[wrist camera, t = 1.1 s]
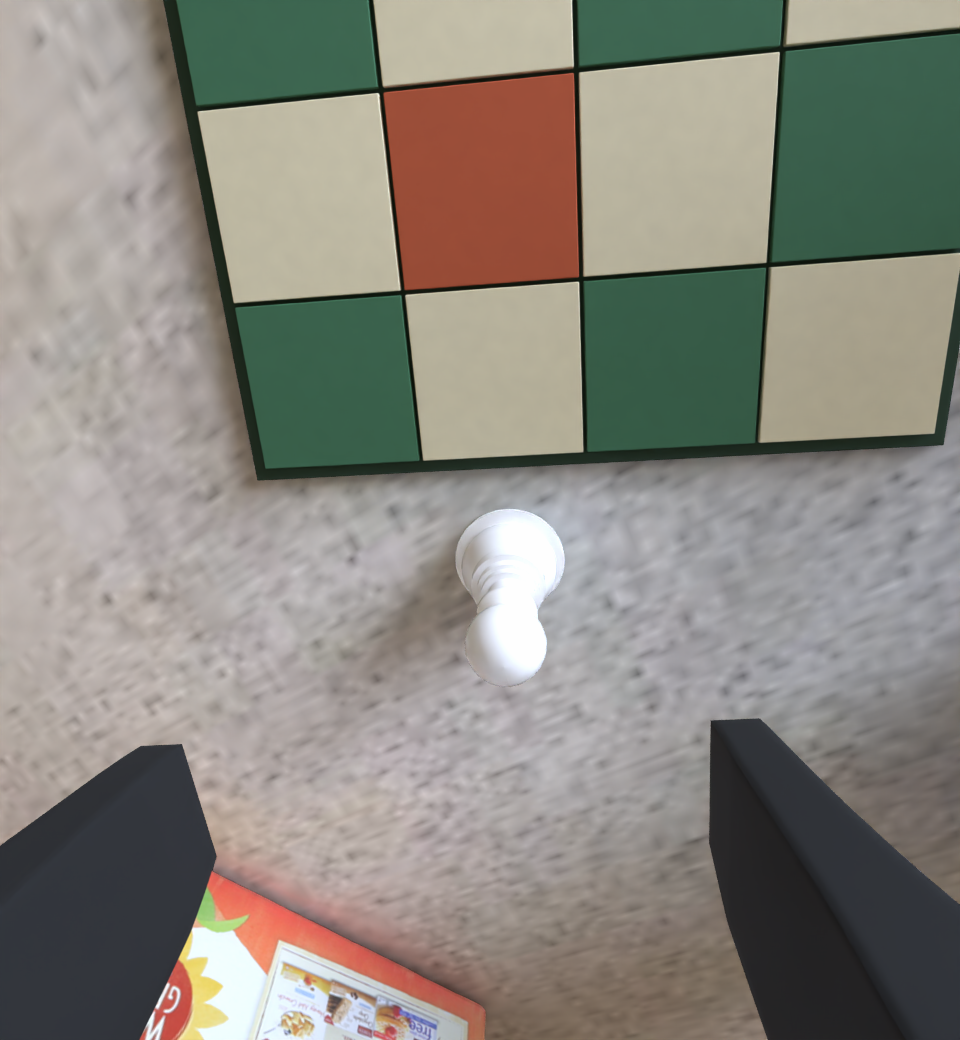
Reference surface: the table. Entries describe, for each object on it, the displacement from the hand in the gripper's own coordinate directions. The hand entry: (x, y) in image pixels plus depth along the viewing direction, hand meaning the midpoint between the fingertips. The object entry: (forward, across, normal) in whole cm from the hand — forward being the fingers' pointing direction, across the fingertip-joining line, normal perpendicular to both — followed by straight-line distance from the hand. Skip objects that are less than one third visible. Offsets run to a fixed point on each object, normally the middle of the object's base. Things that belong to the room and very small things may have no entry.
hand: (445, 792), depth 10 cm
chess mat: (+10, -3, -10) cm, 14 cm away
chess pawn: (+10, 0, +1) cm, 10 cm away
